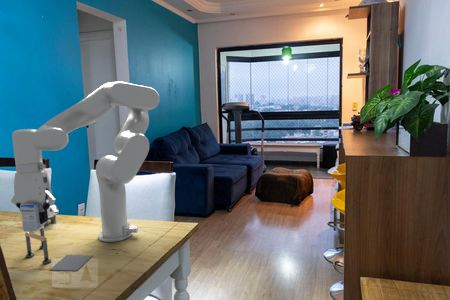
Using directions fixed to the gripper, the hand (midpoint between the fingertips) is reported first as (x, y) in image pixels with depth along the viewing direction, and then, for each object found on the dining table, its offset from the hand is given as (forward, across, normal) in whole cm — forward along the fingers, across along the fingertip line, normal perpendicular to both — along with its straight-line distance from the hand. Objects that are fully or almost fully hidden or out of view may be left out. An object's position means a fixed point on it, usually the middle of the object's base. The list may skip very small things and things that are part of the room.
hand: (35, 221), depth 109 cm
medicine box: (+2, 0, 0) cm, 2 cm away
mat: (+13, -12, +2) cm, 18 cm away
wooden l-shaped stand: (+13, 0, -3) cm, 14 cm away
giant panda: (+14, +18, -32) cm, 39 cm away
